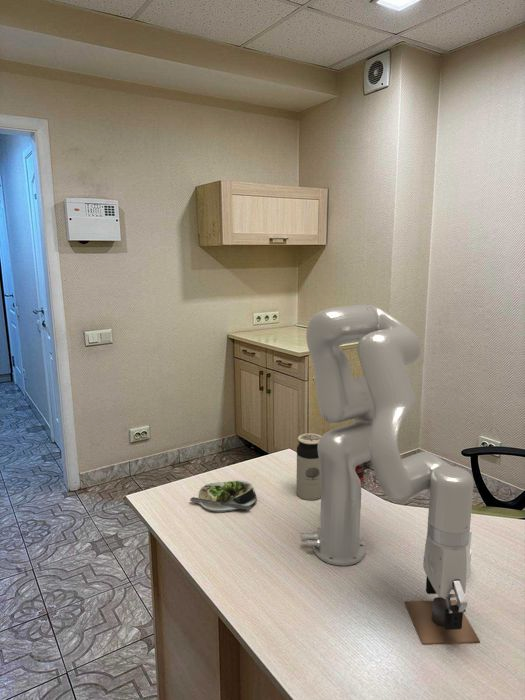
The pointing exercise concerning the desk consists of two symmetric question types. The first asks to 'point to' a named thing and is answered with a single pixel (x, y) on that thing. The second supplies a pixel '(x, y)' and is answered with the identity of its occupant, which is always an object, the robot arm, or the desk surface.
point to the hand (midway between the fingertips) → (442, 609)
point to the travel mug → (308, 467)
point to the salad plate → (226, 496)
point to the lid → (438, 623)
